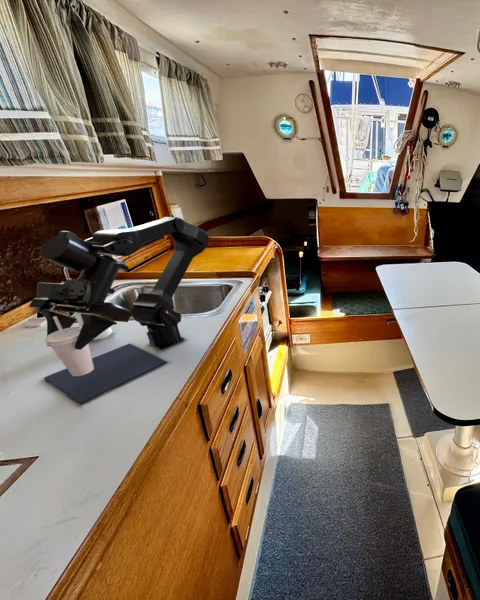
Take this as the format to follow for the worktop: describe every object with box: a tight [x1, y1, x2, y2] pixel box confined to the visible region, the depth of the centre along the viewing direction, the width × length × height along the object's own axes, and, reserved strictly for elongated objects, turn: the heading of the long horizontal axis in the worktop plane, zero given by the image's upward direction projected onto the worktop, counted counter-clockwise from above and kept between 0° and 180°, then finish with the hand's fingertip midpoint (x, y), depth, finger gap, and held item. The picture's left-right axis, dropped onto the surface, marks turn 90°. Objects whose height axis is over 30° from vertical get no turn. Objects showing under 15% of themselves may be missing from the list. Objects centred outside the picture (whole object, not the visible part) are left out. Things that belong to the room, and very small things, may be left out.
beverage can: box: [73, 309, 113, 342], centre depth 93 cm, size 6×6×12 cm
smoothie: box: [44, 316, 94, 376], centre depth 69 cm, size 6×6×14 cm
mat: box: [43, 343, 168, 405], centre depth 81 cm, size 18×18×1 cm
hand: (63, 347), depth 68 cm, fingers closed on smoothie, 6 cm apart
